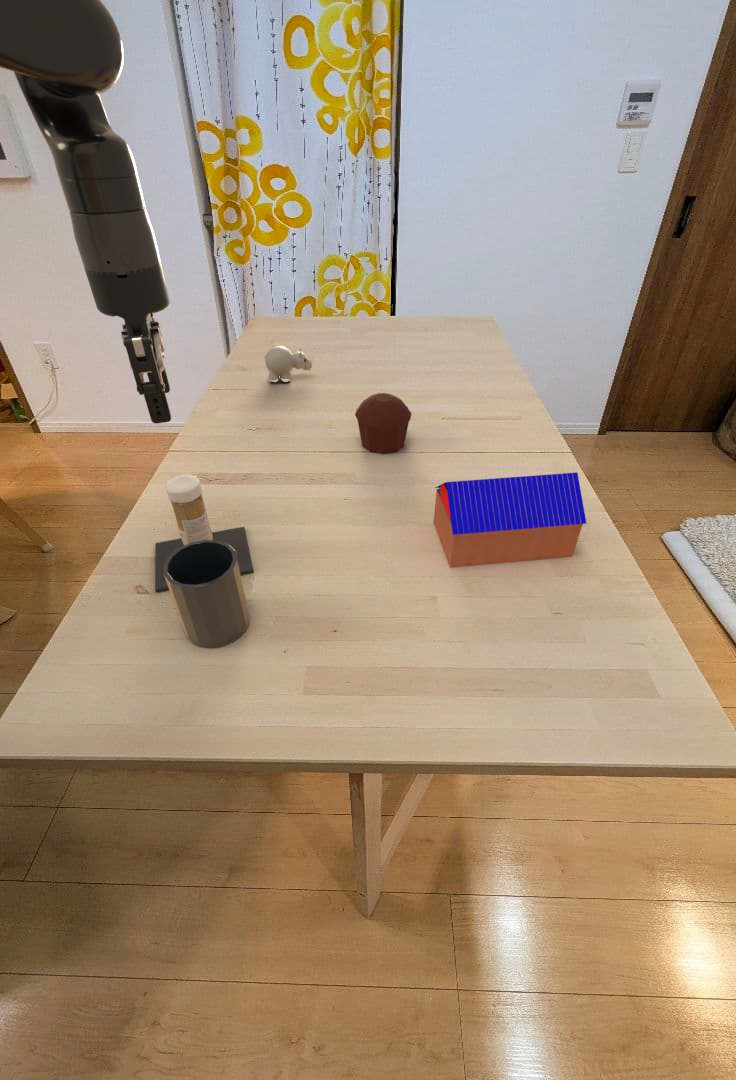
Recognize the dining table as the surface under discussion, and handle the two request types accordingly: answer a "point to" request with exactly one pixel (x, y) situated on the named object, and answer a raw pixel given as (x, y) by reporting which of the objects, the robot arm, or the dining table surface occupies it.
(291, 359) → the chubby cartoon animal
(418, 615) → the dining table surface
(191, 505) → the sprinkles bottle
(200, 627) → the cup
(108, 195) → the robot arm
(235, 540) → the mat
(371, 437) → the muffin
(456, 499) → the house
